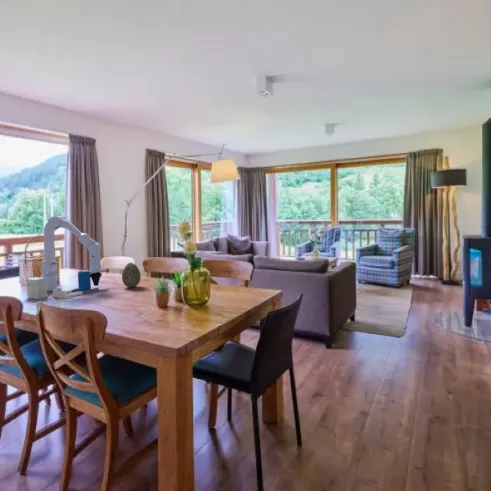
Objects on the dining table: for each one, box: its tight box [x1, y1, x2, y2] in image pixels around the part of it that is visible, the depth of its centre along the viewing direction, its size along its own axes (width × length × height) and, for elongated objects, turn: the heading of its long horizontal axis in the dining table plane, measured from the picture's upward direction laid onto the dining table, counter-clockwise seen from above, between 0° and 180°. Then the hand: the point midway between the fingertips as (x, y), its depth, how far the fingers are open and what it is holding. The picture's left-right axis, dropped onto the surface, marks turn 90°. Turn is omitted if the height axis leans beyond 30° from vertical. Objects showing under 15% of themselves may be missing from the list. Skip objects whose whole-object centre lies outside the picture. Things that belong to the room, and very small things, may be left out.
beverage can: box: [77, 269, 92, 292], centre depth 211 cm, size 6×6×12 cm
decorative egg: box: [121, 262, 142, 289], centre depth 220 cm, size 11×11×15 cm
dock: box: [52, 287, 99, 300], centre depth 206 cm, size 10×22×5 cm, turn 152°
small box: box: [25, 276, 48, 300], centre depth 197 cm, size 8×6×10 cm
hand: (96, 285), depth 218 cm, fingers closed
